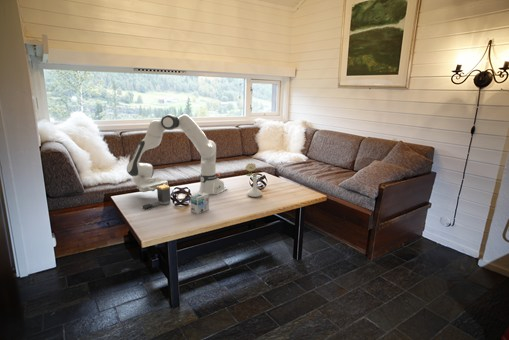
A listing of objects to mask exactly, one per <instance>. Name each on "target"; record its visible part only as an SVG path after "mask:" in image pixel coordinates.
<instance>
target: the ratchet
mask: <svg viewBox="0 0 509 340" xmlns="http://www.w3.org/2000/svg"><path fill="white" fill-rule="evenodd" d="M170 204H171V200H170V201H167V202H164V203H162V202H160V201H158V200H157V202H153V203H146V204H143V205H142V209H143V210H145V211H146V210H151V209H153V208H157V207H160V206H167V205H170Z"/></svg>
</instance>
